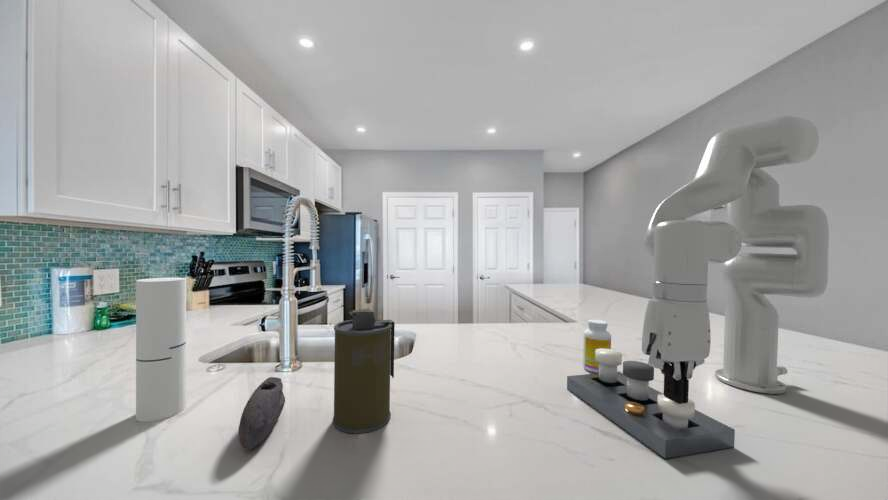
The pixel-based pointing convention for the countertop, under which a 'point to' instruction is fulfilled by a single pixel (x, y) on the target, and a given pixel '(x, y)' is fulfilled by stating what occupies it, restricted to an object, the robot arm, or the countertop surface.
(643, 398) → the knob middle
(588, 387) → the panel
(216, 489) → the countertop surface
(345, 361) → the canister
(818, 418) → the countertop surface
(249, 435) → the perforated stone tool
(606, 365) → the knob
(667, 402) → the knob
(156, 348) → the cylindrical container
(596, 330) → the supplement bottle
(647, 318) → the robot arm
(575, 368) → the countertop surface
